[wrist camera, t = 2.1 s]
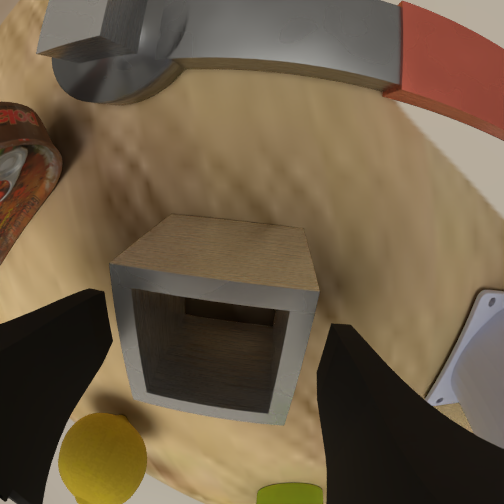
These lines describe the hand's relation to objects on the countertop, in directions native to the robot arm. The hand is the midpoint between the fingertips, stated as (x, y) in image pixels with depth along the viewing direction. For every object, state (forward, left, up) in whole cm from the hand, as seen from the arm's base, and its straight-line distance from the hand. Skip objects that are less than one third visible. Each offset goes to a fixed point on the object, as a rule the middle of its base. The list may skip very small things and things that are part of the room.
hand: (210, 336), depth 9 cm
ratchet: (-3, -10, -4) cm, 11 cm away
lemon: (+7, +12, -4) cm, 14 cm away
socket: (0, 0, -4) cm, 4 cm away
